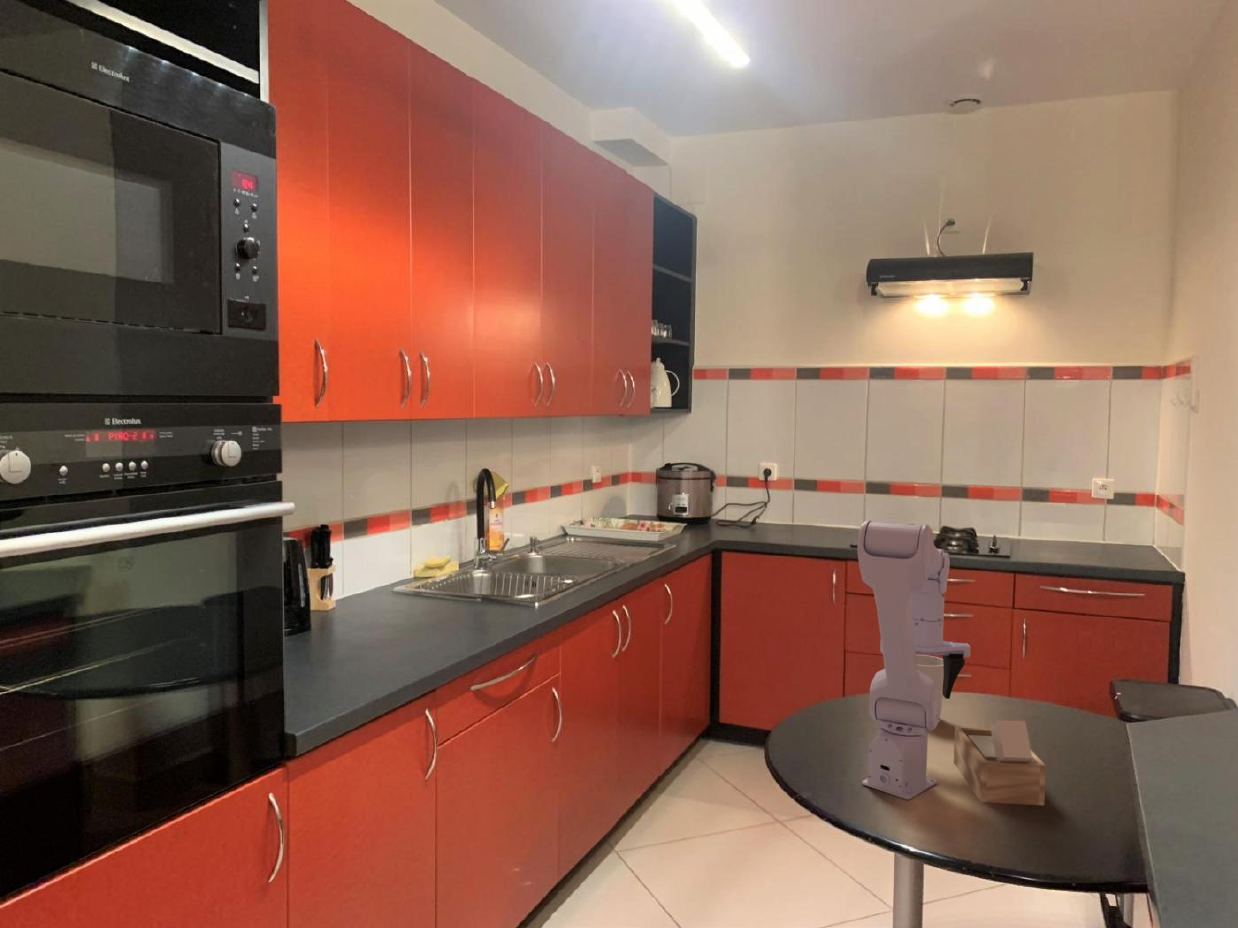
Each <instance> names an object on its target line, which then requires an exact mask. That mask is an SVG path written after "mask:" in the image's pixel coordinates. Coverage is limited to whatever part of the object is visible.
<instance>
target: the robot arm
mask: <svg viewBox="0 0 1238 928" xmlns="http://www.w3.org/2000/svg"><path fill="white" fill-rule="evenodd" d="M934 538H935V537H934V532H933V529H932V528H931V527H930V525H929V524H926V523H924V524H913V523H912V524H911V523H910V524H909V523H897V522H883V521H872V520H870V519H866V520H865V521H864V522H863V523H862V524H861V526H860V528H859V531H858V537H857V548H856V549H857V559H858V560H857V561H858V567H859V572H860V574H861V581H862V582H863V583H864V584H866V585H867V586H868V587H870V588H871V589H872V590H873V591H872V592H873V596H874V600H875V605H876V611H877V619H878V627H879V634H880V641H879V642H880V645H879V646H880V647H879V648H880V649H879V651H880V653H881V654H882V656H883V658H882V659H883V665H884V668H883V669H881V670H879V671H877V672H876V673H875V674H874V677H872V679H871V680H872V681H871V683H870V688H869V703H868V704H869V706H868V707H869V708H868V709H869V714H870V716H871V718H872V720H873V722H874V721H875V722H876V728H879V730H878V734H877V735H876V736H875V738H873V739H872V740H871V742H870V743H869V746H868V753H867V754H868V756H867V757H868V758H867V778H865V779H864V780H862V783H861V784H862V785H864V786H866V787H870V788H871V789H875V790H878V791H880V792H884V793H887V794H889V795H892V796H895V797H898V798H901V799H904V800H911V799H912V798H914V797H916V796H918V795H919V794H921V793H922V792H924V791H925V790H928V789H929V788H931V787H933V786H934V785H936V784H937V783H938V780H937V779H935V778H932V777H928V776H927V769H928V768H927V767H928V742H929V741H928V740H929V739H928V738H929V737H928V736H929V732H932V731H934V730H936V728H937V726H938V724H939V723H938V719H939V711H940V698H939V694H938V693H937V690H936V686H935V682H934V681H933V680H931V679H930V678H929V677H927V676H926V675H924V674H923V673H921V672H920V671H918V670H917V662H916V655H928V656H932V655H934V656H942V659H943V668H944V677H943V698H944V699H946V700H950V699H951V694H952V690H953V688H954V685H955V682H956V680H957V678H958V676H959V674H960V672H961V671H962V669H963V668H964V666H965V663H966V660H965V658H970V657H971V645H969V644H968V643H967V642H965V643H963V642H953V641H945V640H944V619H945V618H944V616H945V615H944V612H945V593H946V592H947V587H948V578H949V573H950V566H951V565H950V564H951V562H950V561H951V560H950V553H948V552H945V550H944V549H943V548H937V547H936V546H935V544H934Z"/></svg>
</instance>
